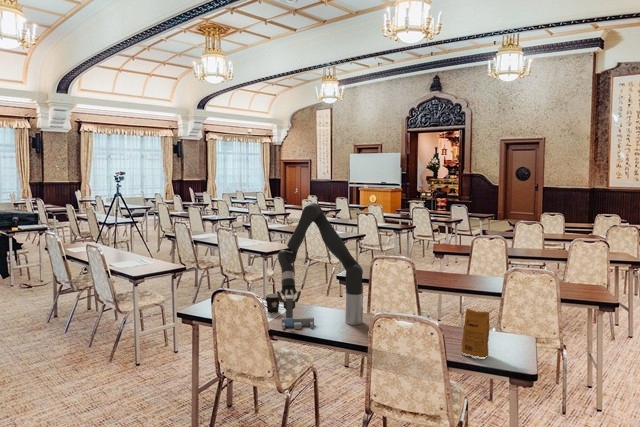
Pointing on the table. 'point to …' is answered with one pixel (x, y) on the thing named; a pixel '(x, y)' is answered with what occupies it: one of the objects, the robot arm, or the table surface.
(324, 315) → the table surface
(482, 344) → the coffee package
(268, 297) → the coffee mug
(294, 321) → the duct
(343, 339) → the table surface
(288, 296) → the plug
